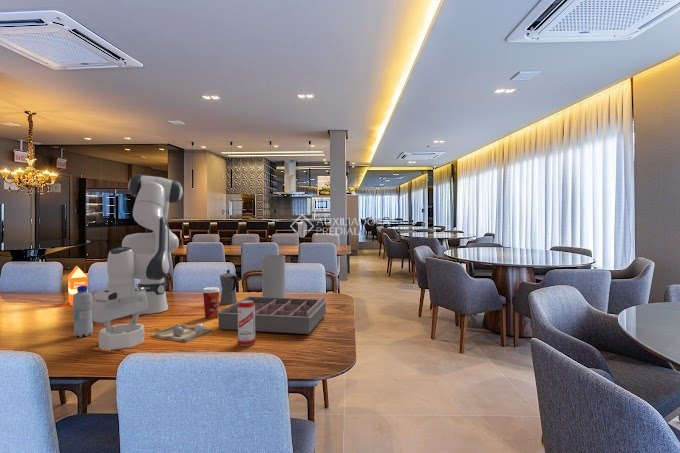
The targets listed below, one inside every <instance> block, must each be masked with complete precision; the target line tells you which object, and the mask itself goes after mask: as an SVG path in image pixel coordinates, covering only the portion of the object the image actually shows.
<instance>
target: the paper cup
mask: <svg viewBox="0 0 680 453" xmlns="http://www.w3.org/2000/svg"><path fill="white" fill-rule="evenodd" d="M220 292H221V290H220V287H217V286H210V287H209V286H207V287H204V288H203V290H202V294H203V306H204V307H203V309H204V318H205V319H207V320H213V319H218V314H216V313H217V312H219V307H220V306H219V304H220Z"/></svg>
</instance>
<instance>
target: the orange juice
mask: <svg viewBox="0 0 680 453" xmlns="http://www.w3.org/2000/svg"><path fill="white" fill-rule="evenodd" d="M67 277H68V278H67V279H68V283H67V284H68V286H67V288H68V303H70V304H69V305H70V306H71V305H72V306H73V303H72V302H73V296H74V294H76V293H78V292H77V287H79V286H82V285H84V286H87V289H88V288H89V287H88V276H87V275H86V273H84V271H83V270H82V269H81V268H80V267H79V266H78V265H76V266H75V267H74V268H73V270H71V272H70V273H69V275H68V276H67ZM87 291H88V292H89V290H87Z"/></svg>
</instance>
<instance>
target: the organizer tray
mask: <svg viewBox="0 0 680 453" xmlns="http://www.w3.org/2000/svg"><path fill="white" fill-rule="evenodd" d="M242 300H253V303H254V304H255V332H267V333H269V332H270V333H283V334H285V333H286V334H287V333H288V334H303V335H309V334H310V333H311V332H312V331H313V330H314V328H315V327H316V326H317V325H318V324H319V323H320V321H322V319H323V318H324V317H325V315H326V314H327V309H326V308H327V307H326V305H327V302H328V299H325V296H324V295H323V296H322V297H321V298H320V299H318V298H317V299H316V298H295V297H285V298H274V297H262V296H247V297H245V298H243V299H242ZM238 305H239V301H237V302H236V303H234V304H230V306H227V307H225V308H224V309H221V310H220V311H219V310H218V312H217V313H216V314H218V318H217V319H218V320H217V321H218V324H217V325H218V329H220V330H235V331H238Z"/></svg>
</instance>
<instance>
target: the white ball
mask: <svg viewBox="0 0 680 453" xmlns="http://www.w3.org/2000/svg"><path fill="white" fill-rule="evenodd" d="M194 326H195V327H194V331H195V332H196V333H198V334H199V333H202V332H204V330H205V328H206V327H205V325H204V323H201V322H199V323H196V324H195V325H194Z"/></svg>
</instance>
